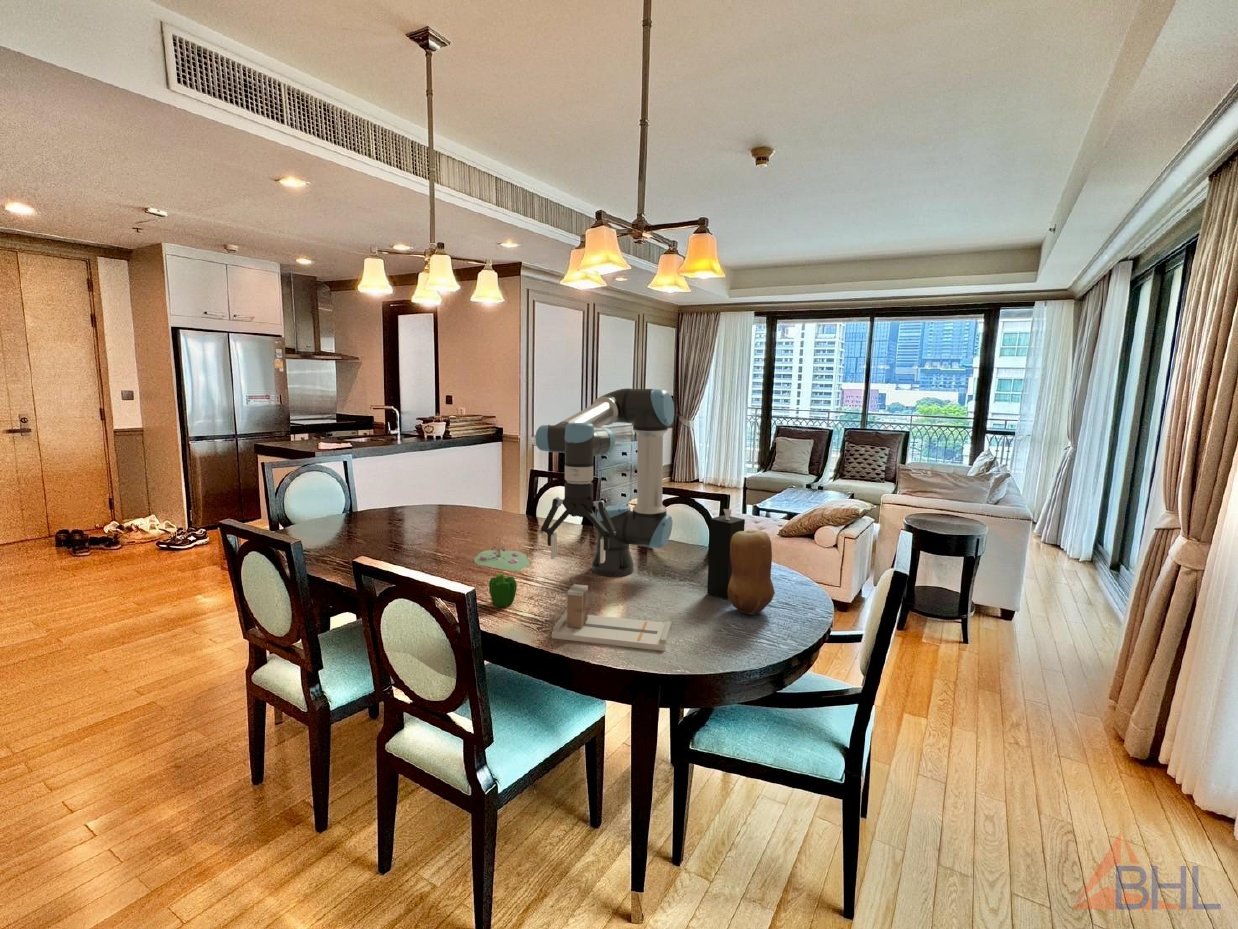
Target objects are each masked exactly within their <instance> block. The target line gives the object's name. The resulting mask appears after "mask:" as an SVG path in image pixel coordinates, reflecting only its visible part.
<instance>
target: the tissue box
mask: <svg viewBox="0 0 1238 929" xmlns="http://www.w3.org/2000/svg"><path fill="white" fill-rule="evenodd" d="M723 512H724V514H723V515H719V516H716V517H711V518H710V519H709V538H708V540H709V544H708V565H707V566H708V568H707V571H708V572H707V588H706V593H707V594H709V595H712V596H715V597H718V598H721V599H724V600H729V597H728V585H729V581H730V578H731V575H732V564H731V557H730V542H731V539H732V536H733V535H734V534H735V533H737V532H739V531H745V525H746V519H745V518H741V517H735V516H731V514H732V509H730V508H728V509H727V508H723Z"/></svg>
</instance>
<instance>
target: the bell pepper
mask: <svg viewBox="0 0 1238 929" xmlns="http://www.w3.org/2000/svg"><path fill="white" fill-rule="evenodd" d="M517 584H518V583H517V581H516V579H515V578H514V577H513V576H512V575H511V576H504V574H503V573H500V572H499V573H498V574H497V575H496V576H495V577H491V578H490V580H489V584H488V586H489V587H488V588H489V589H488V590H489V593H490V594H489V595H490V598H491V601H492V603H493V605H494V606H496V607H499V608H501V607H502V608H503V607H506V606H508V605H512V604H513V603H514V601H515V598H516V594H517V590H518V589H517V586H518V585H517Z"/></svg>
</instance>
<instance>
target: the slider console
mask: <svg viewBox="0 0 1238 929" xmlns="http://www.w3.org/2000/svg"><path fill="white" fill-rule="evenodd" d="M672 630H673V622H672V621H670V620H665V621H664V622H660V621H652V620H640V619H631V618H621V617H613V616H605V615H603V616H602V615H595V614H594V615H593V614H588V619H587V621H586V623H585V624H584V625H583V627H582V628H574V627H567V610H565V612H564V613H563V614H562V616H560V618H559V619H558V621H557V622H556V623H555V624H554V626H553V627H552V632H551V639H557V640H565V641H574V642H581V643H582V642H583V643H592V644H600V645H608V646H617V647H618V646H619V647H627V648H628V647H629V648H635V649H645V650H653V651H662V652H665V651H666V649H667V646H668V644H669V643H668V642H669V639H670V636H671V633H672Z"/></svg>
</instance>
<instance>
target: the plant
mask: <svg viewBox="0 0 1238 929" xmlns="http://www.w3.org/2000/svg"><path fill="white" fill-rule="evenodd" d="M495 538H496V539H498V538H499V537H498V536H496V537H495ZM491 540H492V543H493V544H492V546H493V548H491V550H490V549H487V550H483V551H481V552H479V553H478V554H477V555H476V556H475V557H474V558H473V561H474V563H475V564H477V565H479V566H483V567H489V568H493V569H500V570H506V571H510V572H519V571H522V570H523V569H526V568H528V567H529V566H530V565H531V563H530V560H529V559H528V557H527V554H525V553H523V552H521V551H518V550H516V551H515V550H506V549H505V548H504V547H505V546H504V544H503V543H502V544H500V543H501V540H500V539H498V540H496V541H495V540H494V539H491ZM498 542H499V543H498Z"/></svg>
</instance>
